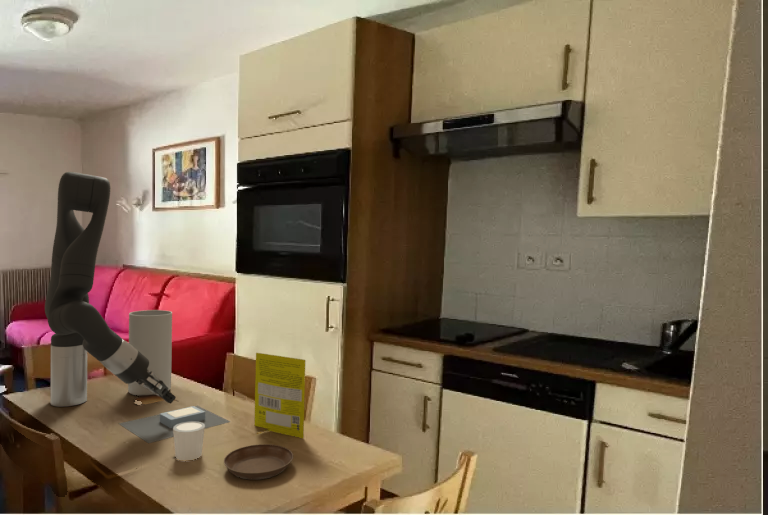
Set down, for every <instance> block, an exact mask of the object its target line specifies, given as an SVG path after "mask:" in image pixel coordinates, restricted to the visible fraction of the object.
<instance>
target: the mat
mask: <svg viewBox="0 0 768 515" xmlns="http://www.w3.org/2000/svg"><path fill="white" fill-rule="evenodd" d="M195 407H197V408H199V409H201V410H203V411H205V420H203V421H199V422H201V423H204V424H205V429H209V428H212V427H215V426H221V425H224V424H227V423H231V420H228V419H226V418H223V417H222V416H220V415H217V413H216V414H215V413H214V412H212V411H210V410H207V409H206V408H204V407H201V406H199V405H195ZM118 425H120V426H121V427H123V428H124V429H126V430H127V431H129V432H130V433H132V434H134V435H135V436H137V437H138V438H139V439H141V440H142V441H144V442H146V443H148V444H151V443H156V442H159V441H163V440H166V439H170V438H174V433H173V428H169V427H168V426H166V425H164V424H163V423H161V422H160V413H159V414H154V415H150V416H145V417H142V418H137V419H133V420H128V421H124V422H118Z"/></svg>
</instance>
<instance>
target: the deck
mask: <svg viewBox="0 0 768 515" xmlns="http://www.w3.org/2000/svg"><path fill="white" fill-rule="evenodd" d="M195 406H196V405H195ZM195 406H194V405H191V406H187V407H184V408H179V409H174V410H169V411H166V412H165V411H164V412H161V413H160V412H159V414H160V422H161V423H163V424H164V425H166V426H168V427H169V428H173V427H174V426H175V425H177V424H180V423H183V422H191V421H195V422H199V421H203V420H205V411H203V410H201V409H199V408H197V407H195Z"/></svg>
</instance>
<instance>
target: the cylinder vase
mask: <svg viewBox="0 0 768 515" xmlns="http://www.w3.org/2000/svg"><path fill="white" fill-rule="evenodd" d="M172 340H173V311H170V310H164V309H162V310H161V309H145V310H136V311H131V312H129V313H128V343H130V344H131V345H132V346H133V347H134V348H136V349H137V350H138V351H139V352H140V353H141V354H143V355H144V356H145V357H146V358H147V359H148V360H149V367H148V369H147V370H149V371H152V372H153V373H154V374H156V377H157V378H159V379H160V380H162V381H163V383H164V384H165V385H166V386H167V387H168V391H169V392H170V390H171V388H172V348H173V346H172V344H173V343H172ZM127 387H128V388H127V390H128V391H127V392H128V393H129V394H130V395H133V396H136V395H137V396H136V397H138V396H142V395H154V394H155V393H152V392H150V391H148V390H147V389H145V388H144V387H143V386H141V385H139V384H137V383H136V382H133V383H130V384H127Z"/></svg>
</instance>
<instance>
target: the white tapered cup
mask: <svg viewBox="0 0 768 515" xmlns="http://www.w3.org/2000/svg"><path fill="white" fill-rule="evenodd" d="M205 429H206V428H205V424H204V423H201V422H195V421H191V422H183V423H180V424H177V425H175V426H174V427H173V433H174V437H173V443H174V455H175V457H176V458H177V459H179V460H193V459H196V460H198V459H197V458H199V457H200V456H201V457H202V454H203V444H204V437H205V435H204V434H205ZM175 457H174V458H175ZM201 457H200V458H201ZM176 458H175V459H176ZM200 458H199V459H200ZM177 459H176V460H177ZM179 460H178V461H179ZM193 461H194V460H193Z"/></svg>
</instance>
